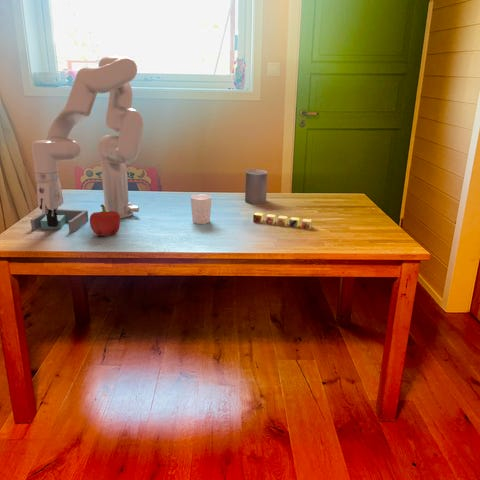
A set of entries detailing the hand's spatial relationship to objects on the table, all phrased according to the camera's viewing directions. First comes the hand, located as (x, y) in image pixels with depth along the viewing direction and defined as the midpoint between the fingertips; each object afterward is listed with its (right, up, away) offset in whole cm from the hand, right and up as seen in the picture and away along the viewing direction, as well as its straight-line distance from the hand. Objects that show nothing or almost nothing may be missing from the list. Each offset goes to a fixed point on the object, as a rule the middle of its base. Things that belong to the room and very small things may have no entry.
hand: (53, 225), depth 172 cm
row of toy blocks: (+85, 0, +11) cm, 85 cm away
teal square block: (-2, 0, +5) cm, 6 cm away
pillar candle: (+75, +12, +43) cm, 87 cm away
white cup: (+53, +2, +14) cm, 55 cm away
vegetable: (+20, -3, -2) cm, 20 cm away
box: (+1, 0, +6) cm, 6 cm away
